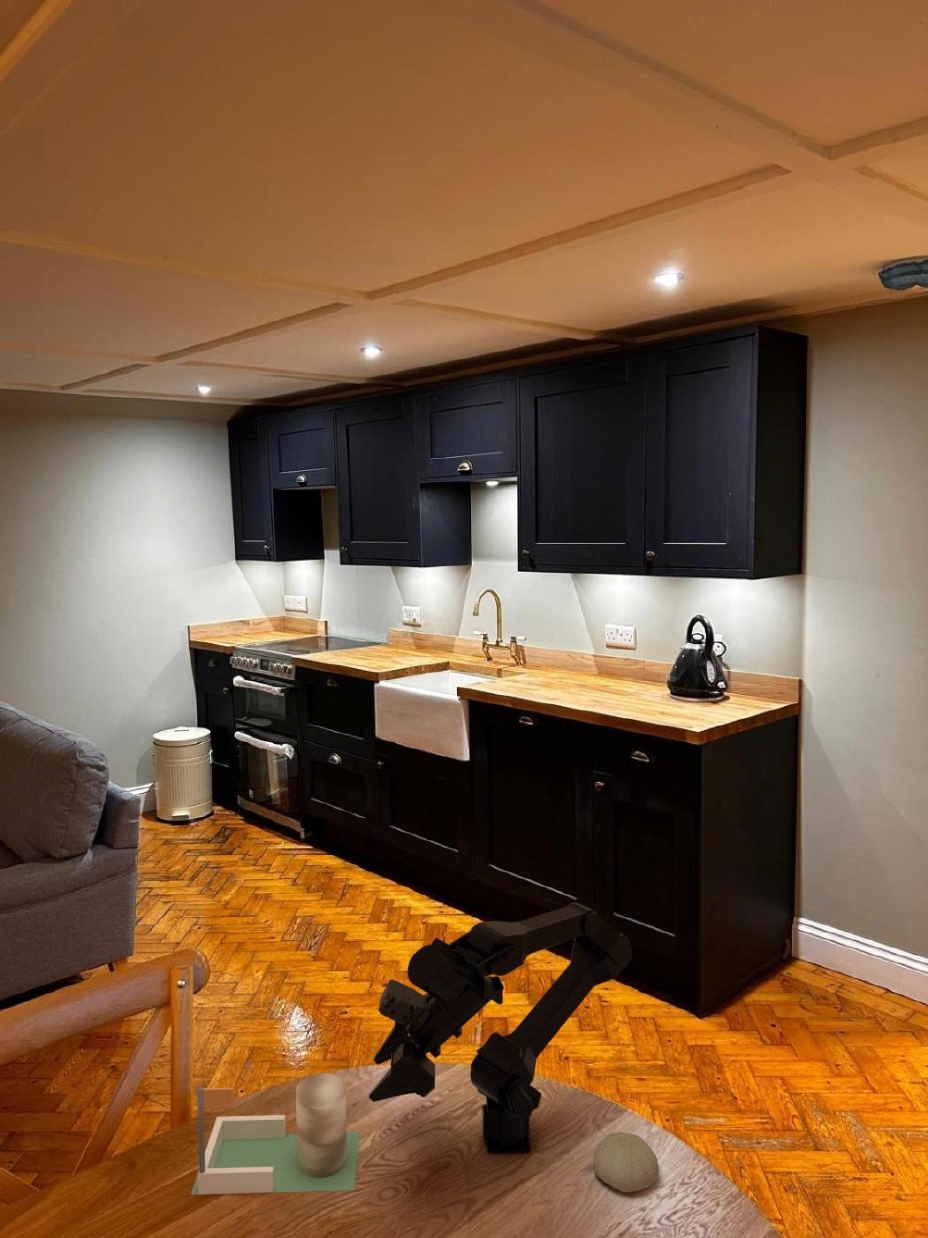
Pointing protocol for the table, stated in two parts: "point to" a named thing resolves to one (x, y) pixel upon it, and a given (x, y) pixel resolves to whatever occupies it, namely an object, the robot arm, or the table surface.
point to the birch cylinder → (321, 1125)
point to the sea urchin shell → (625, 1162)
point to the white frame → (233, 1129)
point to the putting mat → (285, 1163)
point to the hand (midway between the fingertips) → (373, 1080)
